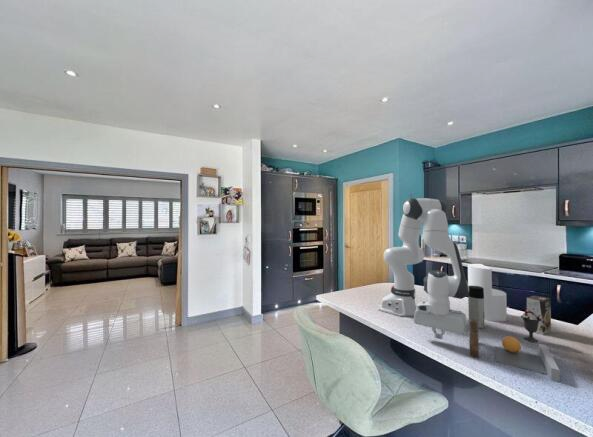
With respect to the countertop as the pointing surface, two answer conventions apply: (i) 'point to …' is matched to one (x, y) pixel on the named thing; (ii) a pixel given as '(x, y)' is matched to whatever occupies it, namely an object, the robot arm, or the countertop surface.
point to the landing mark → (519, 360)
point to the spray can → (476, 305)
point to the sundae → (530, 324)
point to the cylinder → (488, 292)
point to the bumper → (549, 363)
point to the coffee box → (541, 312)
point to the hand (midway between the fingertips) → (438, 338)
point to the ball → (511, 344)
